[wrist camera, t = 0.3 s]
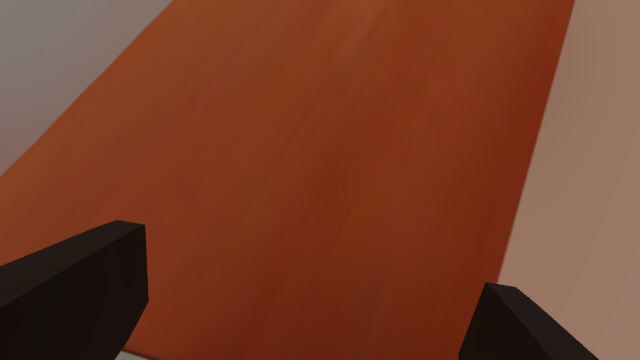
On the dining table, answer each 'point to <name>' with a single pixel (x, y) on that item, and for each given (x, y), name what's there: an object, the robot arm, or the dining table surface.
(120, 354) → the build board
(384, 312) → the dining table surface
